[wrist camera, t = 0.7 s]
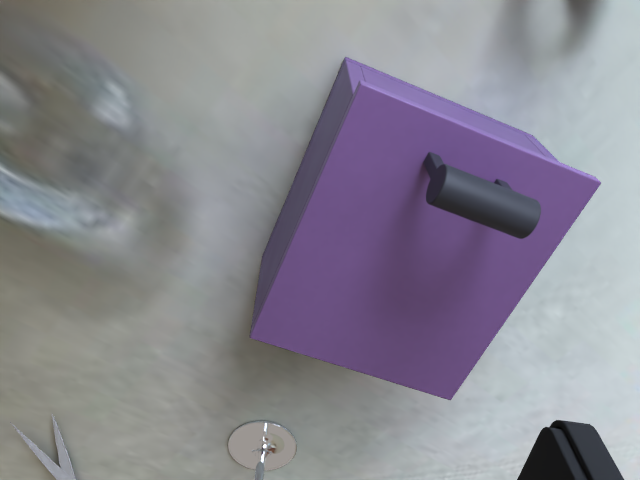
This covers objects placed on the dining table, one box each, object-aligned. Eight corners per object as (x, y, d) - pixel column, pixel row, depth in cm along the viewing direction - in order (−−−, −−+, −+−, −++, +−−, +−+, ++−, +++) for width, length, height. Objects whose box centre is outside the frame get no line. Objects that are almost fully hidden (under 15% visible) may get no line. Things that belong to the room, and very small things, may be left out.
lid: (359, 79, 29) (368, 110, 24) (595, 176, 32) (645, 222, 27) (250, 330, 36) (240, 391, 32) (448, 392, 39) (466, 457, 34)
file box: (345, 56, 37) (353, 93, 29) (533, 135, 40) (586, 189, 32) (262, 256, 44) (250, 329, 36) (425, 312, 47) (448, 391, 39)
